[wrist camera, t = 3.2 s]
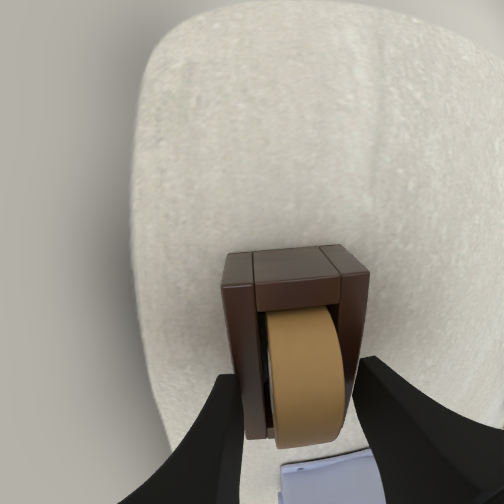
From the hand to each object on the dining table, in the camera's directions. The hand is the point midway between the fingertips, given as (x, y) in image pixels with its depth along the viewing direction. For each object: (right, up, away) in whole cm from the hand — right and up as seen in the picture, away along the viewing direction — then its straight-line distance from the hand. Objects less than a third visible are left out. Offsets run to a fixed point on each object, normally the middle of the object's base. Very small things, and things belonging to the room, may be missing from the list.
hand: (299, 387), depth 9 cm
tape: (0, +1, +3) cm, 3 cm away
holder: (0, +1, +3) cm, 3 cm away
